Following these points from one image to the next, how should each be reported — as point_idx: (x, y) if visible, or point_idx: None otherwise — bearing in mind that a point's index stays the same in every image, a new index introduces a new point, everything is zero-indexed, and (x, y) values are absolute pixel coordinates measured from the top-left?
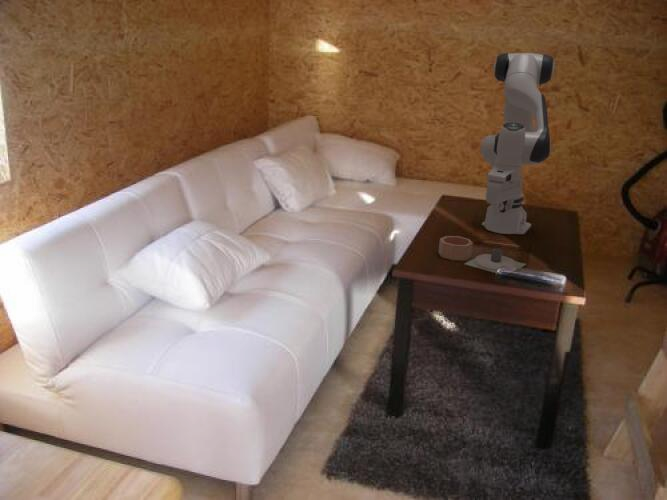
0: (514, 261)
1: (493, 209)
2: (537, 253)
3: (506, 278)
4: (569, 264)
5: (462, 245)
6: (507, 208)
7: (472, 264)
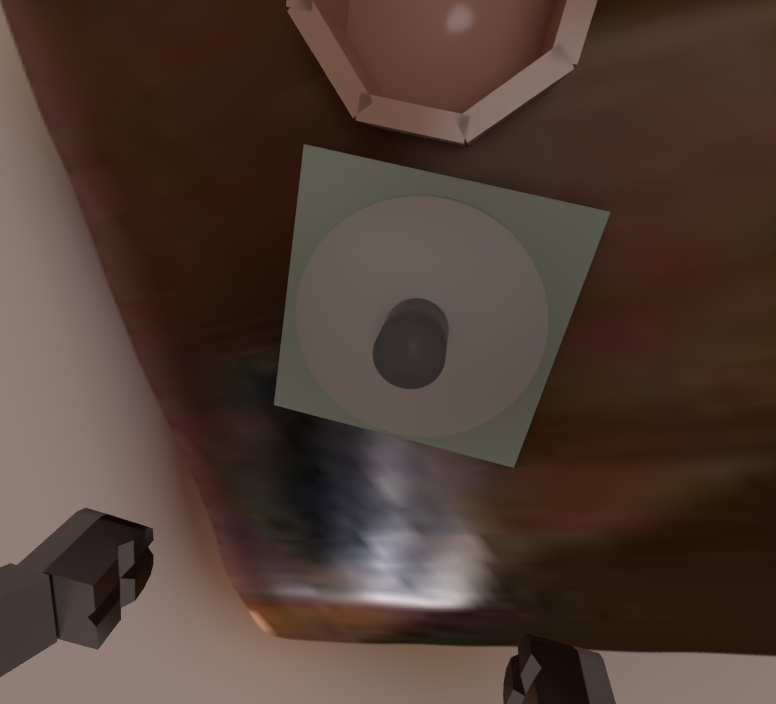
0: (469, 423)
1: (4, 576)
2: None
3: None
4: (656, 626)
5: (340, 77)
6: (522, 683)
7: (327, 198)
